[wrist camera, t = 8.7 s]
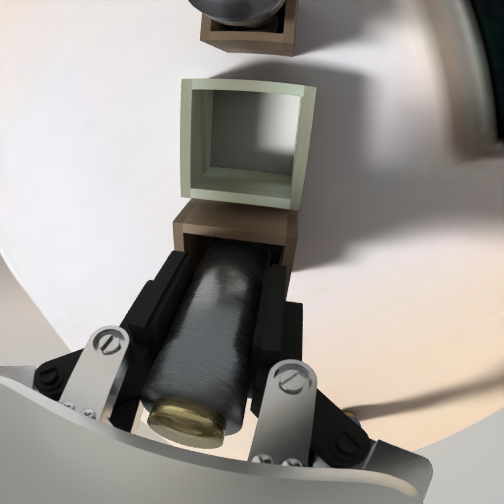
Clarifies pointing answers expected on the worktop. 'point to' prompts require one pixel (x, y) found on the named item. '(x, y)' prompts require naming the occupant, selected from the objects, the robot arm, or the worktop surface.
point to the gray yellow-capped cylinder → (209, 348)
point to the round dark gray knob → (242, 13)
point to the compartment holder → (236, 180)
